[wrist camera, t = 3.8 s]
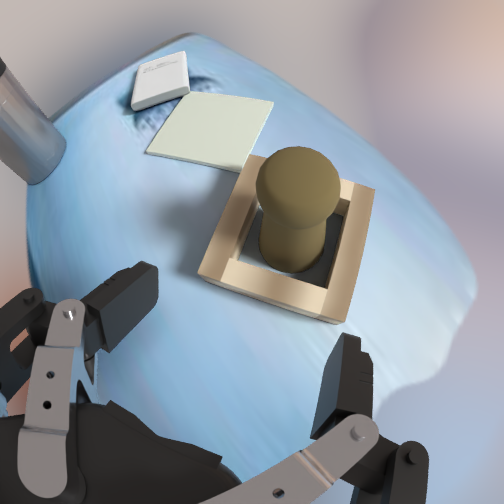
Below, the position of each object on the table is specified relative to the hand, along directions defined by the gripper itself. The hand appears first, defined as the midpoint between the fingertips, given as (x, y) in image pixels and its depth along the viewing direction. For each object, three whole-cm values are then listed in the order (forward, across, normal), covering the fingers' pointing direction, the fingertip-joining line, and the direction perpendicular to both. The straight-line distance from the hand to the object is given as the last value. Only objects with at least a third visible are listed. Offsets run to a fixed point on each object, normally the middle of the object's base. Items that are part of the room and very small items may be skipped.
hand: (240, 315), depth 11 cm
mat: (+23, +13, -5) cm, 27 cm away
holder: (+15, 0, +3) cm, 15 cm away
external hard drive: (+28, +25, -10) cm, 39 cm away
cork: (+15, 0, +3) cm, 16 cm away
